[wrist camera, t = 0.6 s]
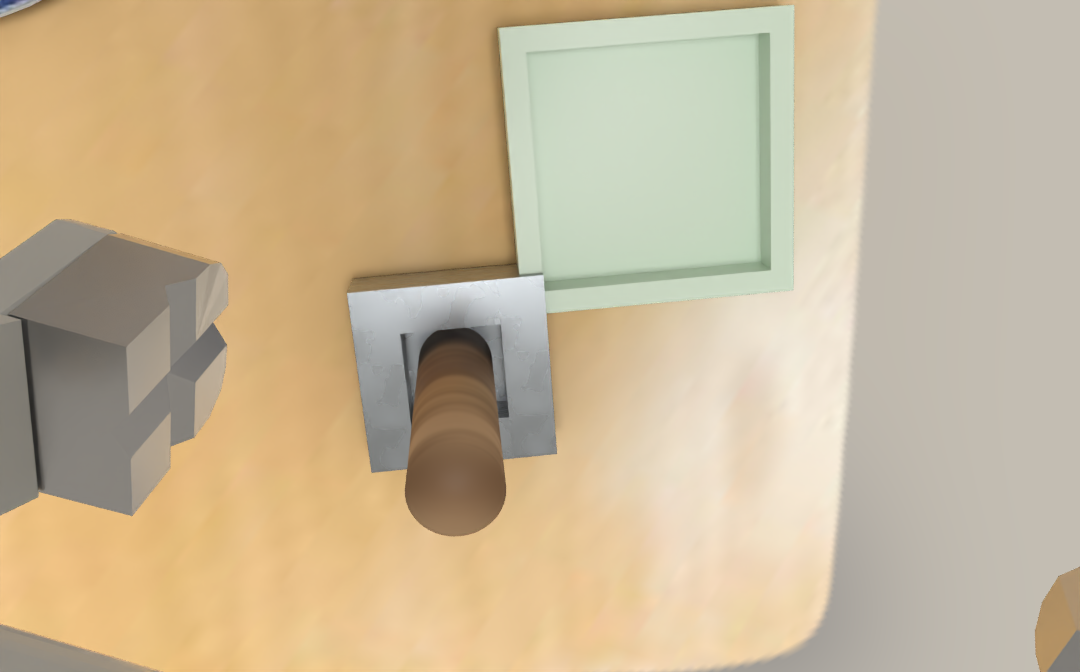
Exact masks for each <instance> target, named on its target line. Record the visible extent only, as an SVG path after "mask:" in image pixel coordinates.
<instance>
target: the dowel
mask: <svg viewBox="0 0 1080 672" xmlns="http://www.w3.org/2000/svg"><path fill="white" fill-rule="evenodd" d="M505 496H506V482H505V473H504V464H503V455H502V445H501V436H500V427H499V418H498V409H497V399H496V390H495V381H494V372H493V363H492V355H491V351H490V348H489V346H488V344H487V342H486V341H485V339H484V338H483V337H482V336H481V335H480V334H478V333H477V332H476V331H474V330H472V329H469V328H456V329H445V330H437V331H435V332H434V333H433V334H431V335H430V336H429V337H428V338H427V339H426V341H425V342H424V343H423V345H422V347H421V350H420V354H419V361H418V371H417V380H416V390H415V399H414V409H413V418H412V428H411V437H410V447H409V456H408V466H407V475H406V485H405V497H406V502H407V505H408V508H409V510H410V512H411V514H412V515H413V516H414V518H415V519H416V520H417V521H418V522H419V523H420V524H421V525H422V526H424V527H425V528H427V529H428V530H430V531H433V532H435V533H438V534H441V535H446V536H464V535H469V534H472V533H475V532H477V531H480V530H481V529H483V528H485V527H486V526H487V525H489V524H490V523H491V522H492V521H493V520H494V519H495V518H496V517H497V515H498V514H499V512H500V511H501V509H502V507H503V504H504V501H505Z"/></svg>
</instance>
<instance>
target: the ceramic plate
mask: <svg viewBox="0 0 1080 672" xmlns="http://www.w3.org/2000/svg"><path fill="white" fill-rule="evenodd" d="M39 1H41V0H0V17H3V16H6V15H9V14H12V13H14V12H17V11H19V10H22V9H24V8H27V7H29V6H31V5H33V4H35V3H37V2H39Z"/></svg>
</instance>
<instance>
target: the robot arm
mask: <svg viewBox="0 0 1080 672" xmlns="http://www.w3.org/2000/svg"><path fill="white" fill-rule="evenodd" d="M227 306H228V273H227V272H226V270H225V269H224V267H223V266H222V264H221V263H220V262H216V261H213V260H210V259H206V258H203V257H200V256H196V255H193V254H189V253H186V252H183V251H179V250H176V249H173V248H169V247H166V246H162V245H159V244H156V243H152V242H149V241H146V240H142V239H139V238H135V237H132V236H129V235H125V234H122V233H121V234H118V233H116V232H115V231H113V230H109V229H105V228H101V227H98V226H94V225H90V224H86V223H82V222H79V221H75V220H71V219H56V220H54V221H53V222H51V223H50V224H48V225H47V226H46V227H44V228H43V229H41V230H40V231H39V232H37V233H36V234H34V235H33V236H32V237H30V238H29V239H27V240H26V241H24V242H23V243H22V244H20V245H19V246H17V247H16V248H15V249H13V250H12V251H10V252H9V253H8V254H6V255H5V256H3V257H2V258H0V515H2V514H4V513H6V512H8V511H11V510H13V509H15V508H17V507H19V506H21V505H23V504H25V503H27V502H29V501H31V500H33V499H35V498H37V497H38V496H39V492H41V493H45V494H49V495H53V496H57V497H61V498H65V499H69V500H72V501H76V502H80V503H84V504H88V505H92V506H96V507H99V508H103V509H107V510H111V511H115V512H119V513H123V514H126V515H130V516H133V514H134V513H135V512H136V511H137V509H138V508H139V507H140V506H141V504H142V503H143V502H144V501H145V499H146V498H147V497H148V496H149V494H150V493H151V492H152V490H153V489H154V488H155V487H156V485H157V484H158V483H159V482H160V480H161V479H162V478H163V477H164V475H165V474H166V473H167V472H168V470H169V469H170V446H173V445H176V444H178V443H181V442H184V441H186V440H189V439H192V438H194V437H195V436H196V434H197V433H198V432H199V430H200V429H201V428H202V426H203V425H204V424H205V422H206V421H207V420H208V418H209V416H210V414H211V412H212V409H213V407H214V405H215V403H216V400H217V398H218V396H219V393H220V391H221V387H222V382H223V378H224V373H225V368H226V352H227V344H226V343H225V341H224V339H223V338H222V336H221V335H220V333H219V331H218V330H217V328H216V327H215V325H214V323H213V322H214V320H215V319H216V318H217V317H218V316H219V315H220V314H221V313H222V311H223V310H224V309H225V308H226V307H227ZM1035 648H1036V657H1037V661H1038V665H1039V669H1040V672H1080V567H1078V568H1076V569H1074V570H1072V571H1069V572H1067V573H1065V574H1062V575H1060V576H1058V578H1057V580H1056V581H1055V583H1054V584H1053V586H1052V588H1051V589H1050V591H1049V592H1048V594H1047V596H1046V597H1045V599H1044V600H1043V602H1042V605H1041V609H1040V613H1039V617H1038V621H1037V625H1036V629H1035ZM0 672H162V671H159V670H156V669H152V668H149V667H145V666H142V665H139V664H135V663H132V662H129V661H125V660H122V659H118V658H115V657H112V656H108V655H105V654H102V653H98V652H95V651H91V650H88V649H85V648H81V647H78V646H74V645H71V644H68V643H64V642H61V641H58V640H54V639H51V638H47V637H44V636H41V635H37V634H34V633H31V632H27V631H24V630H20V629H17V628H14V627H10V626H7V625H3V624H0Z"/></svg>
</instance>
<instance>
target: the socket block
mask: <svg viewBox="0 0 1080 672" xmlns="http://www.w3.org/2000/svg"><path fill="white" fill-rule="evenodd" d="M347 297H348V304H349V311H350V319H351V326H352V333H353V341H354V348H355V355H356V362H357V370H358V377H359V384H360V392H361V399H362V406H363V413H364V421H365V428H366V435H367V442H368V450H369V457H370V464H371V472H372V473H373V472H383V471H393V470H403V469H407V466H408V456H409V447H410V437H411V428H412V418H413V409H414V399H415V390H416V380H417V371H418V361H419V354H420V350H421V347H422V345H423V343H424V342H425V341H426V339H427V338H428V337H429V336H430V335H431V334H433V333H434V332H435V331H437V330H445V329H456V328H469V329H472V330H474V331H476V332H477V333H478V334H480V335H481V336H482V337H483V338H484V339H485V341H486V342H487V344H488V346H489V348H490V351H491V355H492V363H493V372H494V381H495V390H496V399H497V409H498V418H499V427H500V436H501V445H502V455H503V459H511V458H521V457H531V456H541V455H551V454H557V448H556V435H555V422H554V408H553V395H552V382H551V369H550V355H549V342H548V329H547V315H546V302H545V289H544V276H543V273H535V274H524V275H519V271H518V267H517V264H507V265H496V266H485V267H474V268H463V269H452V270H441V271H430V272H419V273H409V274H398V275H387V276H376V277H365V278H354V279H352V282H351V284H350V287H349V289H348V292H347Z"/></svg>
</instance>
